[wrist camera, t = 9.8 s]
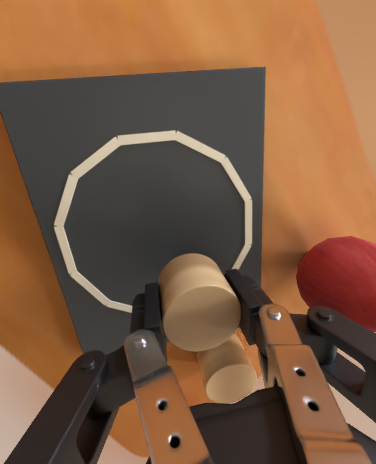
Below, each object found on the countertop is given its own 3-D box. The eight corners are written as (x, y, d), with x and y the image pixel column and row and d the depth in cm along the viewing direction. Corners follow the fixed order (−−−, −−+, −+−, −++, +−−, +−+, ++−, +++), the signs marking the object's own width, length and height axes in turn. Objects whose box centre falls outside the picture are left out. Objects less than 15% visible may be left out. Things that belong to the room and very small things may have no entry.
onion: (346, 267, 20) (468, 339, 12) (287, 298, 20) (372, 389, 12) (333, 209, 17) (471, 254, 10) (266, 245, 18) (354, 316, 10)
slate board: (87, 351, 18) (84, 360, 17) (-1, 87, 12) (-12, 82, 11) (255, 316, 20) (260, 324, 19) (259, 70, 13) (266, 65, 13)
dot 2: (197, 368, 21) (207, 409, 17) (194, 334, 19) (203, 371, 16) (239, 358, 21) (256, 396, 18) (239, 324, 20) (257, 359, 17)
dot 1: (153, 258, 13) (155, 294, 10) (218, 247, 14) (241, 277, 11) (162, 313, 15) (167, 359, 12) (222, 301, 15) (242, 342, 12)
